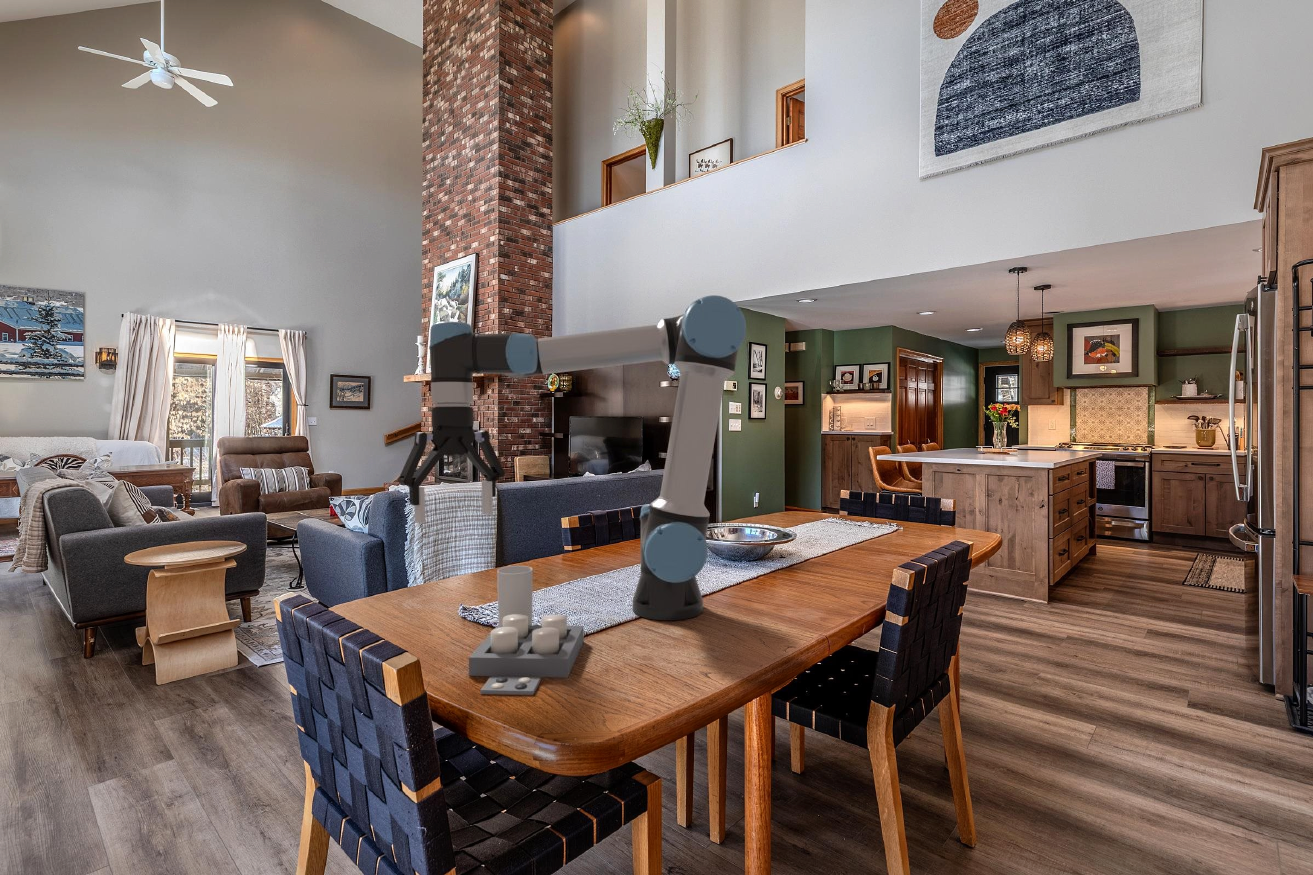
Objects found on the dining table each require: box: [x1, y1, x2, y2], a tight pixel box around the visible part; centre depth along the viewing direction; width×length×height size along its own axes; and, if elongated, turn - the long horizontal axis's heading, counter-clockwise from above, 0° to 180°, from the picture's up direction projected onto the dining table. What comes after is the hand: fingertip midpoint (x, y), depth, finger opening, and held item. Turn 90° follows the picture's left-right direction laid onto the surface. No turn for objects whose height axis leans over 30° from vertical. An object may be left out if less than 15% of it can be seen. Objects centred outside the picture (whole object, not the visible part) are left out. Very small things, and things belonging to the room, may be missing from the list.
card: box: [480, 676, 542, 696], centre depth 98 cm, size 8×5×1 cm, turn 87°
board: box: [468, 624, 585, 679], centre depth 110 cm, size 16×16×3 cm
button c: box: [532, 627, 559, 654], centre depth 106 cm, size 4×4×4 cm
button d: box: [490, 627, 518, 654], centre depth 107 cm, size 4×4×4 cm
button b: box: [503, 614, 528, 639], centre depth 114 cm, size 4×4×4 cm
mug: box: [496, 565, 534, 625], centre depth 125 cm, size 10×7×12 cm, turn 25°
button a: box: [541, 614, 568, 639], centre depth 113 cm, size 4×4×4 cm
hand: (455, 518), depth 120 cm, fingers open, 13 cm apart
